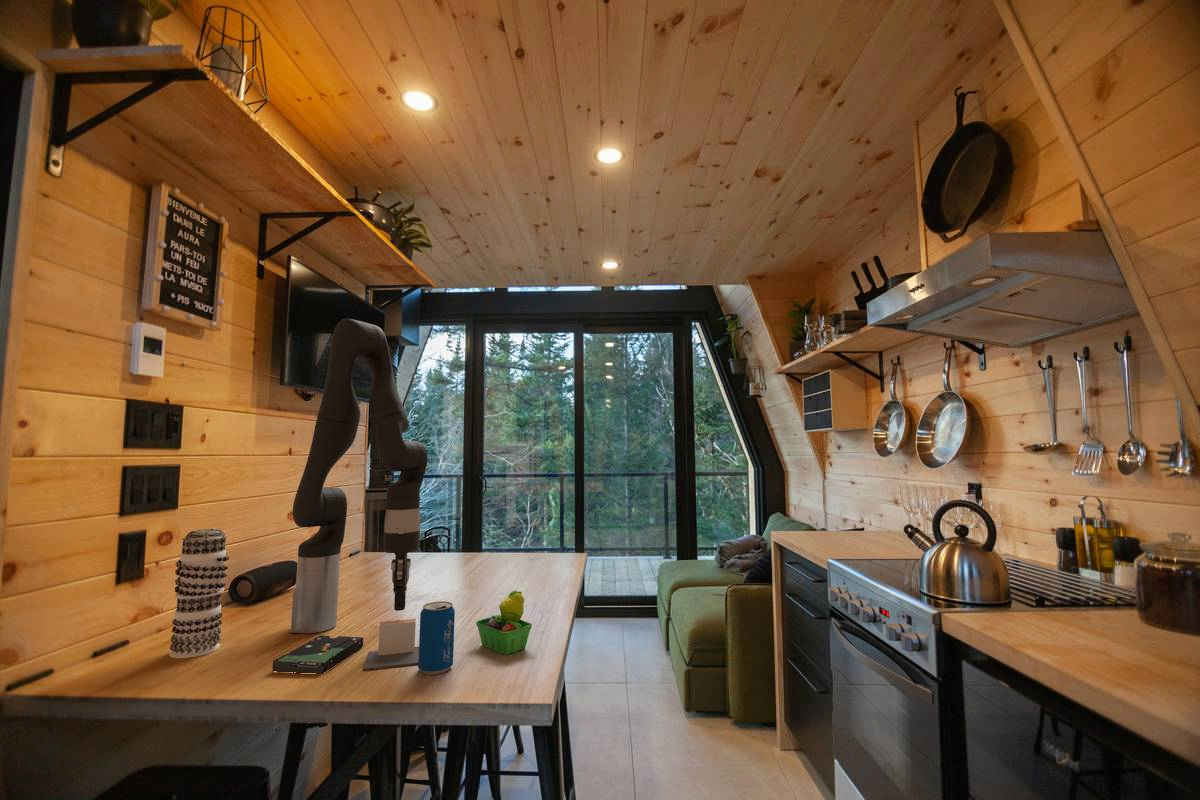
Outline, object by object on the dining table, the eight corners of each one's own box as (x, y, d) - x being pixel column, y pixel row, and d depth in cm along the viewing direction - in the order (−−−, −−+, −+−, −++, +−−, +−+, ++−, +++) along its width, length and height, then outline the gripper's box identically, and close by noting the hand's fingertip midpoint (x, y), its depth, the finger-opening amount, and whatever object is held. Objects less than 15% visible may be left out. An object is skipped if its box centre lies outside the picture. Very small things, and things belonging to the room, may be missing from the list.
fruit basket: (473, 645, 114) (474, 592, 115) (506, 635, 120) (507, 585, 122) (504, 659, 106) (506, 601, 107) (538, 647, 113) (538, 593, 114)
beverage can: (433, 679, 96) (436, 611, 98) (410, 671, 100) (413, 606, 101) (460, 667, 102) (462, 603, 103) (437, 660, 105) (439, 599, 107)
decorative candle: (206, 640, 116) (216, 526, 119) (231, 647, 112) (240, 529, 115) (157, 654, 108) (169, 531, 111) (182, 662, 104) (193, 534, 107)
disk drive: (317, 648, 113) (270, 675, 99) (318, 635, 114) (271, 660, 99) (363, 650, 113) (322, 677, 98) (364, 636, 113) (323, 661, 98)
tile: (378, 655, 107) (379, 624, 107) (379, 651, 109) (380, 621, 109) (414, 651, 109) (415, 621, 110) (414, 648, 111) (415, 618, 112)
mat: (363, 670, 100) (363, 668, 100) (368, 653, 109) (368, 651, 109) (423, 663, 103) (423, 661, 103) (423, 647, 112) (423, 646, 112)
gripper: (386, 526, 122) (383, 603, 120) (381, 533, 109) (378, 619, 107) (420, 525, 124) (418, 600, 122) (419, 531, 112) (416, 616, 109)
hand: (399, 609), depth 115 cm, fingers closed
